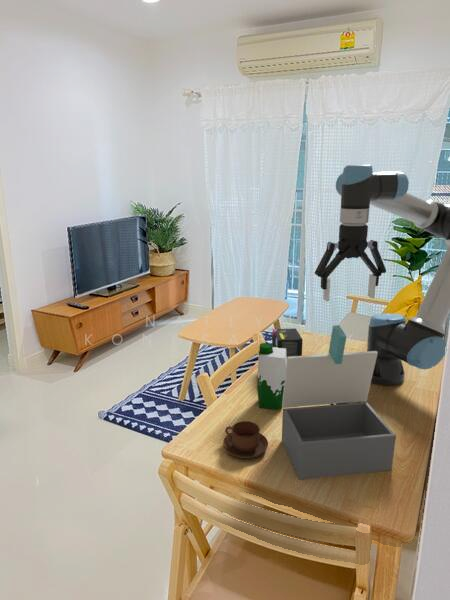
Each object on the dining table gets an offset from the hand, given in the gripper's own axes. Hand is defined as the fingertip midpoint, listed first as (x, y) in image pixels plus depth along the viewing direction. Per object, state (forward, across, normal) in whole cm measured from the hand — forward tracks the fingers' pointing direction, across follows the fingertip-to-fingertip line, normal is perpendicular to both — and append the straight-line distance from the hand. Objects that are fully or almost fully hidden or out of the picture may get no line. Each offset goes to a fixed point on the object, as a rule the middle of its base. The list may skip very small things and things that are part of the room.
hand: (348, 298), depth 126 cm
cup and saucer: (+36, -33, -14) cm, 51 cm away
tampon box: (+37, -9, +31) cm, 49 cm away
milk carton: (+36, -20, +8) cm, 42 cm away
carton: (+36, -11, -20) cm, 43 cm away
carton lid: (+15, -10, -18) cm, 26 cm away
